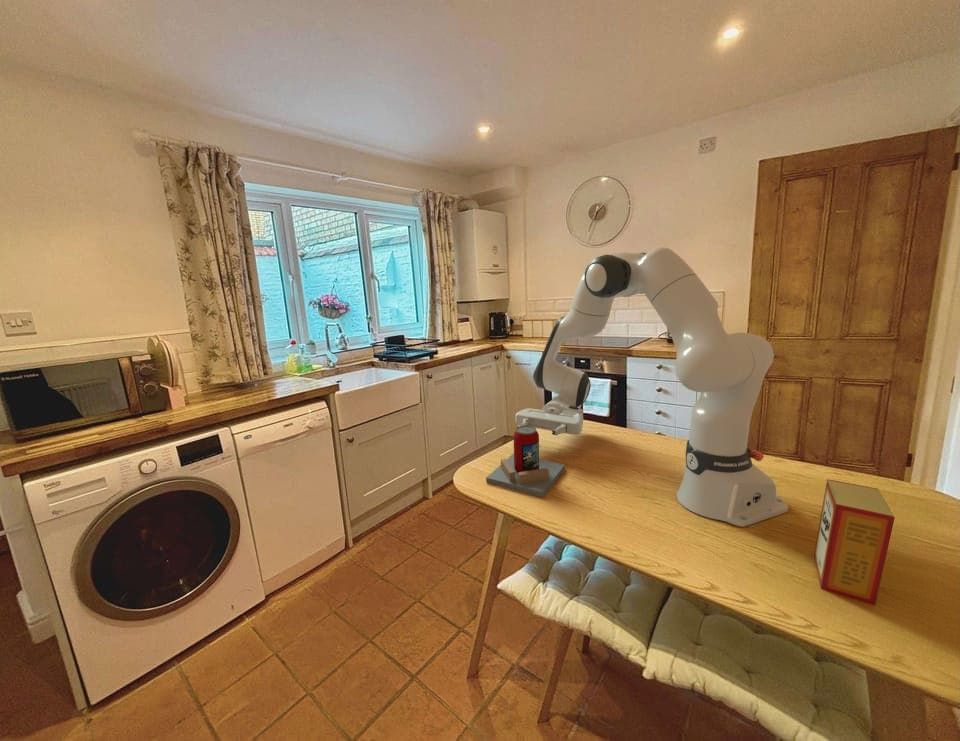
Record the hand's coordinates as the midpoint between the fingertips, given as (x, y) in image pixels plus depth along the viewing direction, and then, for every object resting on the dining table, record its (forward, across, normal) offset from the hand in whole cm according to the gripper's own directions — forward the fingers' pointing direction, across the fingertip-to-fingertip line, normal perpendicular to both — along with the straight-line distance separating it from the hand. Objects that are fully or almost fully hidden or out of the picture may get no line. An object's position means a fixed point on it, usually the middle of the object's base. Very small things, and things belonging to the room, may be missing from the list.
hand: (538, 429), depth 112 cm
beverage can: (+9, 0, +9) cm, 12 cm away
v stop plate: (+9, 0, +10) cm, 14 cm away
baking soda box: (+18, +63, +10) cm, 66 cm away
